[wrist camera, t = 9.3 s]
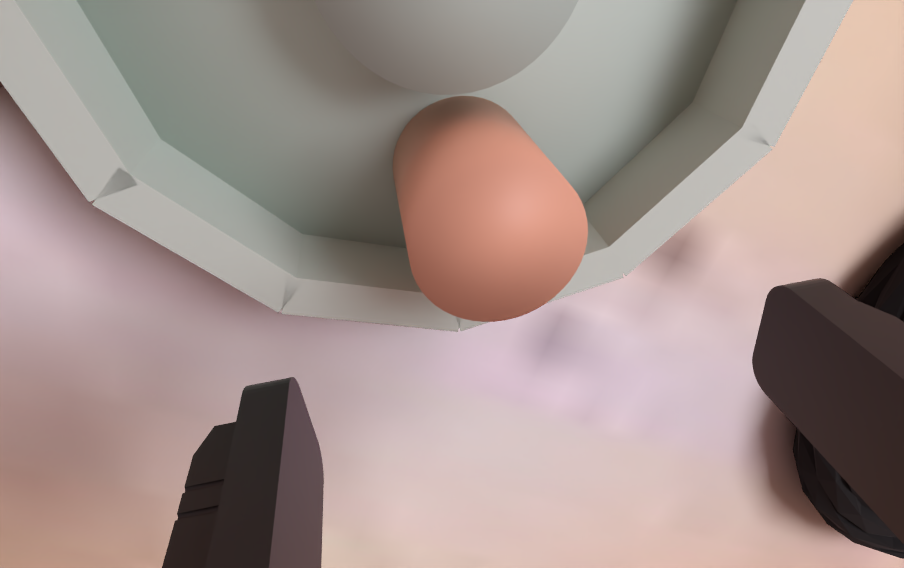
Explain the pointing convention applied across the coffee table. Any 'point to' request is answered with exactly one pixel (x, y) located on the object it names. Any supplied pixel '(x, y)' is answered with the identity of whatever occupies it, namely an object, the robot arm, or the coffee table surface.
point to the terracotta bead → (484, 212)
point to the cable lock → (899, 294)
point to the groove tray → (396, 121)
